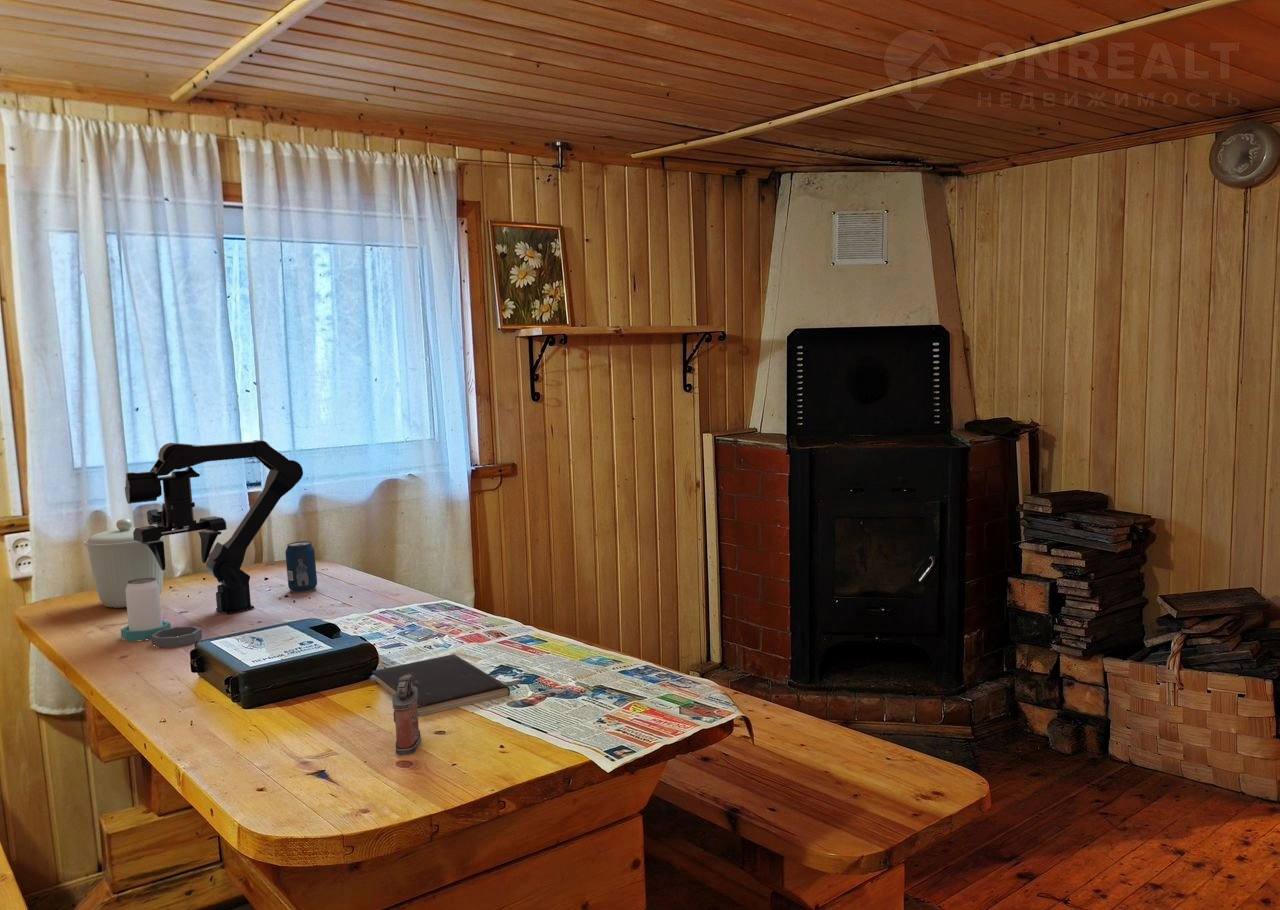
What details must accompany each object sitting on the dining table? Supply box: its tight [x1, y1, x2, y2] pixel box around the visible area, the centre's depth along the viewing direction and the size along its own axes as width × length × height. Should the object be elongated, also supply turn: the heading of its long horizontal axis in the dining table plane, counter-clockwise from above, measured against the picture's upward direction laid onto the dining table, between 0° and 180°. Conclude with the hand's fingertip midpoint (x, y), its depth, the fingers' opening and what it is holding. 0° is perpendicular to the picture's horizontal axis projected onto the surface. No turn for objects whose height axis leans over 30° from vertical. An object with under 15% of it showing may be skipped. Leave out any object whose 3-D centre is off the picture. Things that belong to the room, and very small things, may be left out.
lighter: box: [392, 675, 422, 757], centre depth 145 cm, size 8×3×10 cm, turn 5°
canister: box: [83, 518, 167, 609], centre depth 243 cm, size 18×18×21 cm
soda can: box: [284, 540, 318, 594], centre depth 250 cm, size 7×7×12 cm
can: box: [126, 578, 163, 631], centre depth 213 cm, size 6×6×12 cm
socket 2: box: [151, 625, 203, 649], centre depth 207 cm, size 9×9×2 cm
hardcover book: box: [371, 653, 511, 717], centre depth 170 cm, size 16×23×2 cm
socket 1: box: [120, 619, 171, 642], centre depth 213 cm, size 9×9×2 cm
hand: (184, 566), depth 225 cm, fingers open, 9 cm apart
